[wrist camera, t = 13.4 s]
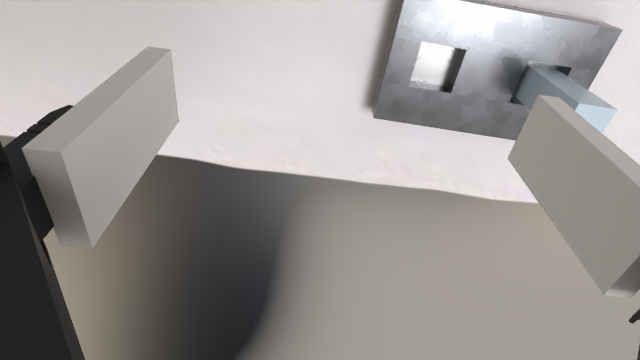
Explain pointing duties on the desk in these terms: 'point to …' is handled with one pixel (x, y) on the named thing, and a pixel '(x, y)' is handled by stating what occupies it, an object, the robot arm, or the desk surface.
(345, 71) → the desk surface
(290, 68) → the desk surface
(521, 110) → the dark grey base plate
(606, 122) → the pale blue rectangular prism
